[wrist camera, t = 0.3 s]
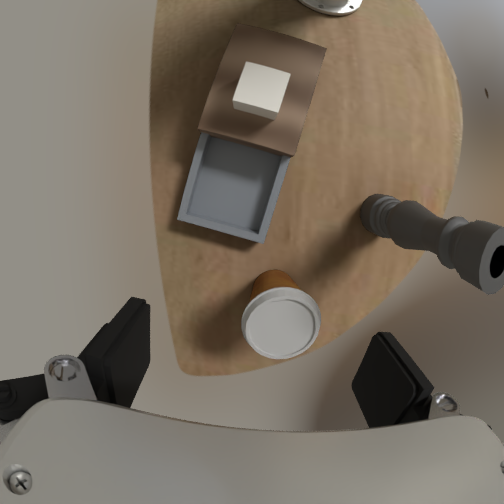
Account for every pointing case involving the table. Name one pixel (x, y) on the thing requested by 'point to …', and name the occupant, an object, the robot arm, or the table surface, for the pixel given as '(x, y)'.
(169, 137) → the table surface
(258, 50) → the brown wooden box
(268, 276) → the disposable coffee cup
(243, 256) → the table surface
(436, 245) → the candle holder
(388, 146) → the table surface
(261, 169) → the box
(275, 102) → the white block
